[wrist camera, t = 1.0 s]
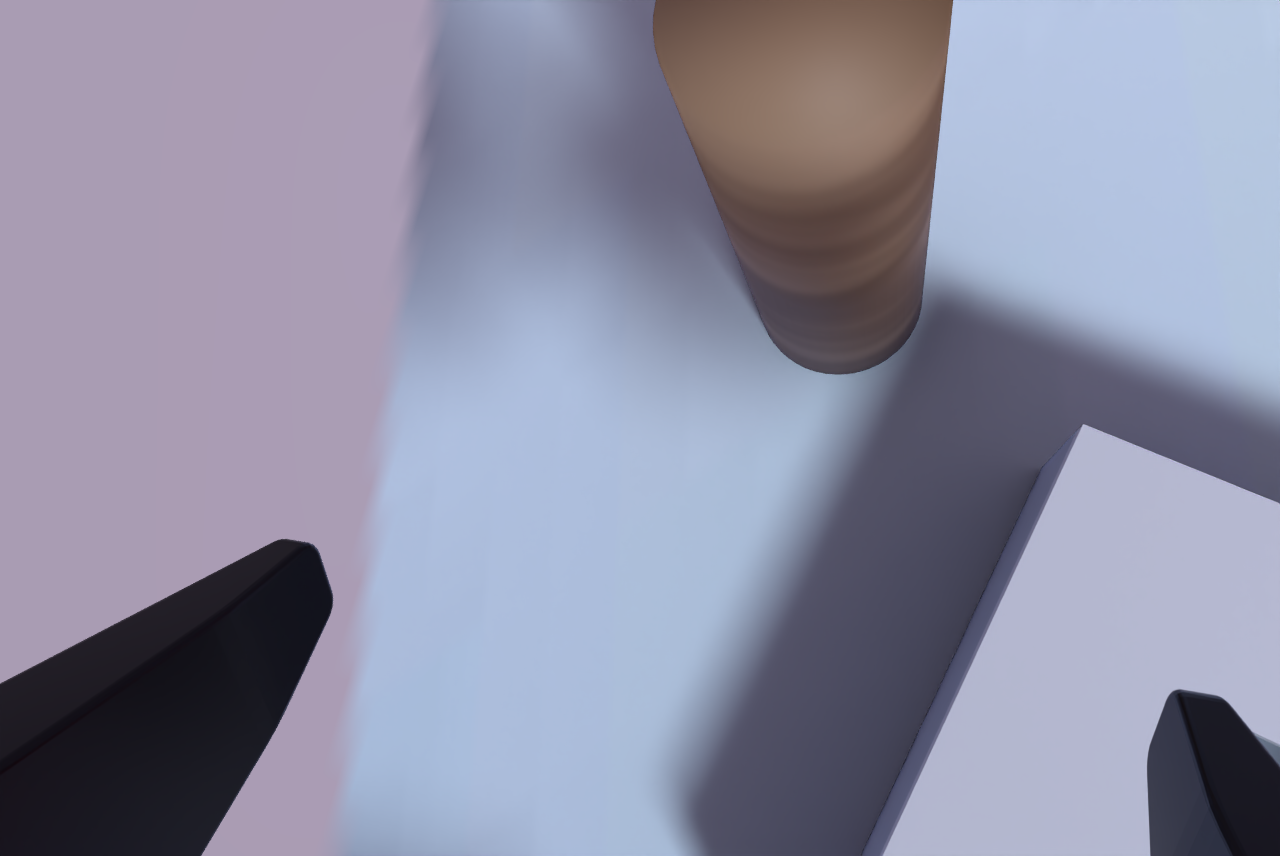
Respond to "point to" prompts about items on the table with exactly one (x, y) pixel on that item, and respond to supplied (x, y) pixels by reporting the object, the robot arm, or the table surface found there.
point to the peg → (817, 157)
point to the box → (1092, 658)
